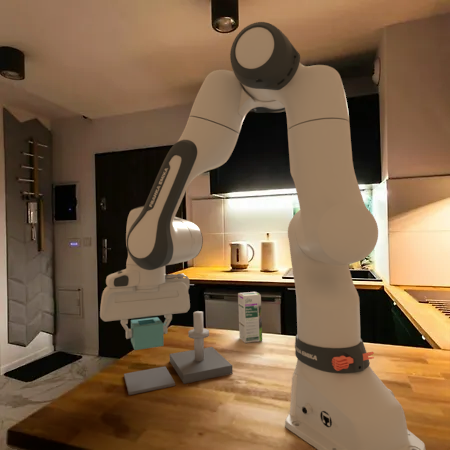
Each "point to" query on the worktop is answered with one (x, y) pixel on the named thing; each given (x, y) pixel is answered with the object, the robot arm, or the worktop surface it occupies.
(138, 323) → the collar
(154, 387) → the mat
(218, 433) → the worktop surface
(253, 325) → the syrup box
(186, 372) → the stand
